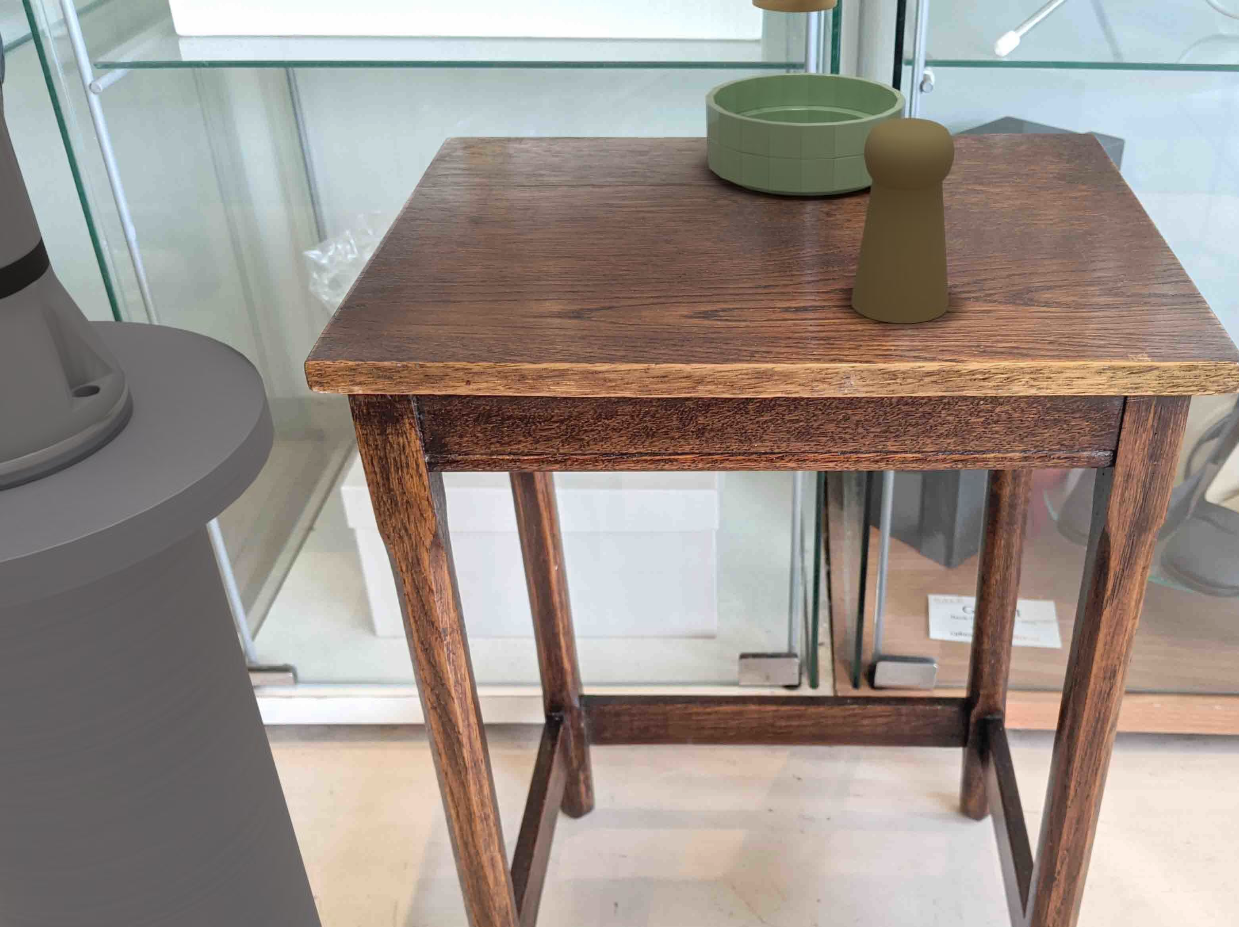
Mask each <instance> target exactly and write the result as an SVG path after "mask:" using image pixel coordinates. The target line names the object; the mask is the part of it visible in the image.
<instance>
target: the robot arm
mask: <svg viewBox="0 0 1239 927" xmlns="http://www.w3.org/2000/svg"><path fill="white" fill-rule="evenodd" d="M5 53H6V52H5V48H4V41H3V36H2V33H1V32H0V491H2V490H5V489H9V488H13V487H16V486H20V485H23V484H26V483H29V482H32V481H35V480H38V479H40V478H43V477H46V476H48V475H51V474H53V473H56V472H58V471H60V470H63V469H65V468H67V467H69V466H71V465H73V464H75V463H77V462H79V461H81V460H83V459H85V458H86V457H88V456H90V455H91V454H93V453H95V452H96V451H98V450H99V449H101V448H102V447H103V446H105V445H106V444H107V443H109V442H110V441H111V440H112V439H113V438H115V437H116V436H117V435H118V434H119V433H120V432H121V431H122V429H123V428H124V427H125V426H126V424H127V423H128V421H129V419H130V417H131V415H132V412H133V399H132V396H131V393H130V389H129V386H128V383H127V379H126V376H125V374H124V372H123V370H122V369H121V366H120V364H119V363H118V361H117V359H116V357H115V356H114V355H113V353H112V352H111V351H110V349H109V348H108V346H107V345H106V344H105V342H104V341H103V340H102V338H101V337H100V336H99V334H98V333H97V332H96V330H95V329H94V327H93V326H92V325H91V323H90V322H89V321H90V320H89V319H88V318H87V316H86V315H85V313H84V312H83V311H82V309H81V308H80V307H79V306H78V303H77V302H76V301H75V300H74V299H73V297H72V296H71V295H70V293H69V292H68V290H67V289H66V288H65V287H64V285H63V284H62V282H61V281H60V280H59V278H58V277H57V275H56V272H55V271H54V269H53V265H52V264H51V263H52V262H51V260H50V257H49V254H48V251H47V248H46V245H45V242H44V239H43V236H42V232H41V229H40V226H39V223H38V220H37V217H36V214H35V211H34V208H33V204H32V201H31V197H30V195H29V192H28V188H27V186H26V182H25V179H24V177H23V173H22V170H21V167H20V164H19V161H18V158H17V155H16V151H15V148H14V146H13V143H12V142H13V141H12V138H11V136H10V132H9V129H8V125H7V122H6V117H5V108H4V107H5V105H4V93H3V91H4V90H3V84H4V83H5V76H6V54H5Z"/></svg>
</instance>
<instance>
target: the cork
mask: <svg viewBox="0 0 1239 927" xmlns="http://www.w3.org/2000/svg"><path fill="white" fill-rule="evenodd" d="M954 144H955V143H954V139H953V137H952V135H951V134H950V131H949V129H948V128H947V127H946V126H944V125H942V124H941V123H940V122H937V121H934V120H930V119H924V118H918V117H905V118H898V119H891V120H886V121H884V122H881V123H879V124H878V125H876V126H874V128H873V129H872V131H871V132H870V134H869V135H868V137H867V139H866V143H865V147H864V159H865V164H866V168H867V172H868V173H869V175H870V176H871V178H872V186H870V192H869V198H868V204H867V209H866V214H865V221H864V226H863V232H862V237H861V243H860V248H859V255H858V260H857V266H856V272H855V277H854V282H853V288H852V294H851V300H850V303H851V307H852V308H853V310H854V311H856V312H857V313H858V314H860V315H862V316H864V317H865V318H868V319H871V320H874V321H879V322H882V323H891V324H916V323H924V322H929V321H931V320H934V319H938V318H940V317H941V316H943V315H944V314H945V313H947V311H948V309H949V307H950V304H949V302H950V301H949V286H948V285H949V284H948V266H947V245H946V226H945V212H944V211H945V208H944V207H945V206H944V189H943V183H944V181H945V179H946V178H948V175H949V174H950V172H951V169H952V167H953V164H954V160H955V150H956V149H955V145H954Z"/></svg>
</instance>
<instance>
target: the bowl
mask: <svg viewBox="0 0 1239 927" xmlns="http://www.w3.org/2000/svg"><path fill="white" fill-rule="evenodd" d="M906 104H907V99H906V97H905V96H904V94H903V93H902V92H901V91H900V90H898V89H896V88H895V87H893V86H891V85H888V84H887V83H883V82H880V81H876V80H872V79H869V78H865V77H858V76H851V75H845V74H837V73H822V72H779V73H770V74H769V73H768V74H759V75H752V76H747V77H743V78H738V79H733V80H730V81H729V80H728V81H727V82H724V83H722V84H720V85H717V86H714V87H713V88H712V89H711V90H710V91H709V92H708V93H707V94H706V95H705V123H706V124H705V125H706V126H705V127H706V131H705V132H706V159H707V165H708V169H709V170H711V172H713V173H715V174H716V175H717V176H718V177H720V178H721V179H724V180H727V181H729V182H732V183H733V184H735V185H737V186H741V187H743V188H746V189H749V190H753V191H757V192H762V193H768V194H772V195H773V194H774V195H781V196H782V195H783V196H801V197H805V196H806V197H809V196H810V197H811V196H813V197H815V196H816V197H817V196H829V195H838V194H847V193H851V192H856V191H859V190H863V189H866V188H869V187H871V186H872V178H871V176H870V175H869V173H868V172H867V168H866V164H865V159H864V147H865V143H866V139H867V137H868V135H869V134H870V132H871V131H872V129H873V128H874V126H876V125H878V124H879V123H881V122H884V121H886V120H891V119H898V118H906Z"/></svg>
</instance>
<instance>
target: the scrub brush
mask: <svg viewBox="0 0 1239 927" xmlns="http://www.w3.org/2000/svg"><path fill="white" fill-rule="evenodd" d="M751 3H752V5H753V6H754V7H756V8H758V9H762V10H765V11H771V12H777V13H778V12H779V13H780V12H781V13H817V12H823V11H824V12H825V11H828V10H831V9H834V8H836V7H837V5H838V0H751Z"/></svg>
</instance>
